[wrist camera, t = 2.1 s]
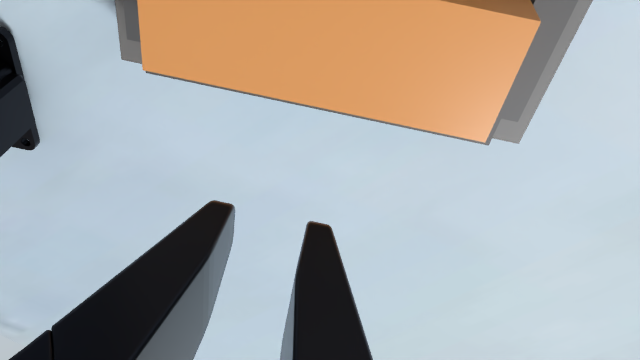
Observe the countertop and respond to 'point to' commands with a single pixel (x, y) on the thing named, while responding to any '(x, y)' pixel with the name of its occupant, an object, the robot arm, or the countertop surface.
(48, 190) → the countertop surface
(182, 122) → the countertop surface
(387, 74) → the push button
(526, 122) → the panel
